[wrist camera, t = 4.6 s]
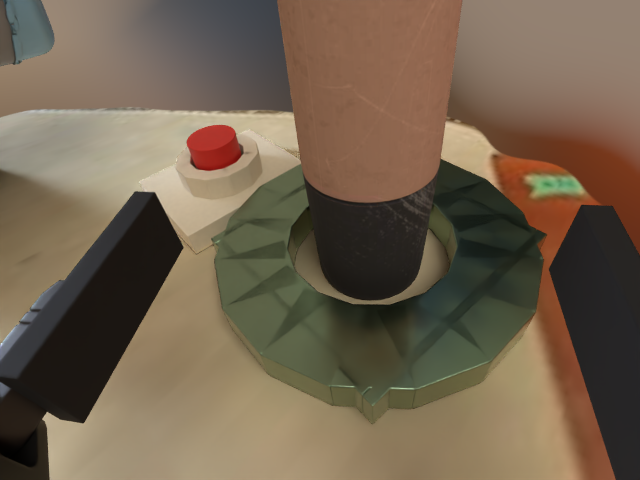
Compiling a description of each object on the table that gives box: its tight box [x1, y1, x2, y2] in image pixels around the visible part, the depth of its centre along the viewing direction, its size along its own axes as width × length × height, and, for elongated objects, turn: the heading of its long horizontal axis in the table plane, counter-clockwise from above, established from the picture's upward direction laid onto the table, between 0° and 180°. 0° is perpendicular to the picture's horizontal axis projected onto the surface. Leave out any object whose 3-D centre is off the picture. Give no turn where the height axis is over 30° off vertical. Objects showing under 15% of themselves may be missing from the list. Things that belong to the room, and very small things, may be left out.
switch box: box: [139, 129, 301, 254], centre depth 34 cm, size 10×12×4 cm
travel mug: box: [277, 0, 462, 300], centre depth 20 cm, size 8×8×20 cm
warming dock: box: [211, 159, 547, 424], centre depth 27 cm, size 21×21×2 cm
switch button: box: [187, 125, 241, 171], centre depth 32 cm, size 4×4×2 cm
